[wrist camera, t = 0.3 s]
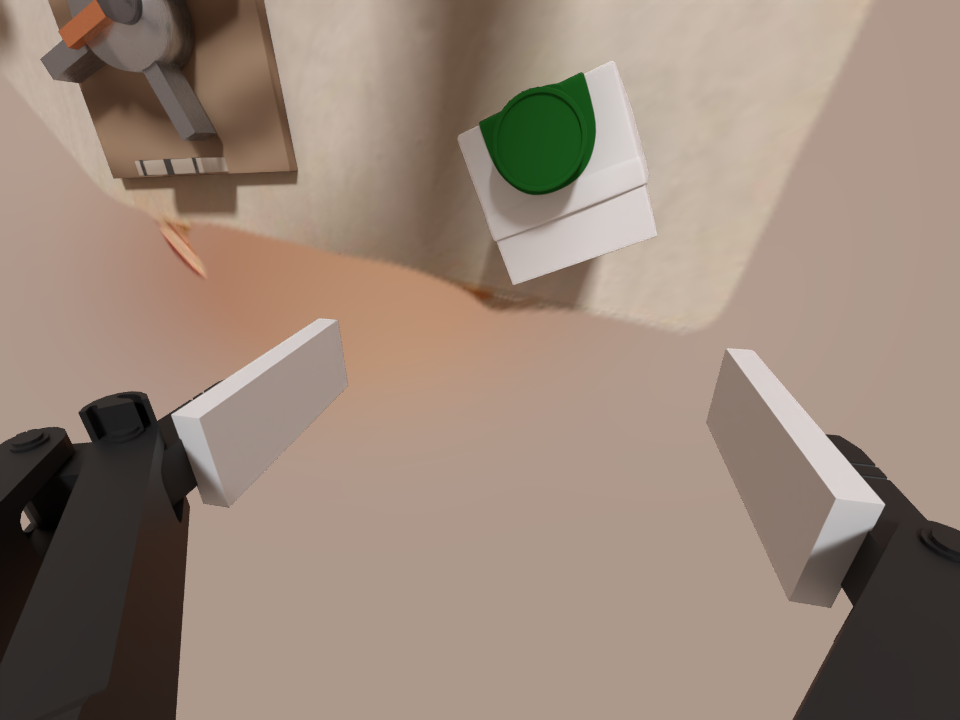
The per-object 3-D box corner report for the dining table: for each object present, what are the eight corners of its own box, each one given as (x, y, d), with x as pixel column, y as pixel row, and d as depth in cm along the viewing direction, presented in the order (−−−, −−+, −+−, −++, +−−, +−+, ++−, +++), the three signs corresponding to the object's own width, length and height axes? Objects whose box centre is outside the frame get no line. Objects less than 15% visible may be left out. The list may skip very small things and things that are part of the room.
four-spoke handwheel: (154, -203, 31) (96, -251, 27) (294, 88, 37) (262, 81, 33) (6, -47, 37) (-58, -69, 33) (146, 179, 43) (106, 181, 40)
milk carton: (603, 90, 34) (630, 24, 16) (633, 205, 37) (684, 255, 19) (499, 138, 37) (425, 128, 19) (535, 242, 40) (500, 315, 22)
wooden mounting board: (9, -146, 35) (-59, -181, 31) (223, -197, 31) (175, -245, 27) (124, 177, 45) (83, 180, 42) (297, 170, 41) (269, 172, 38)
